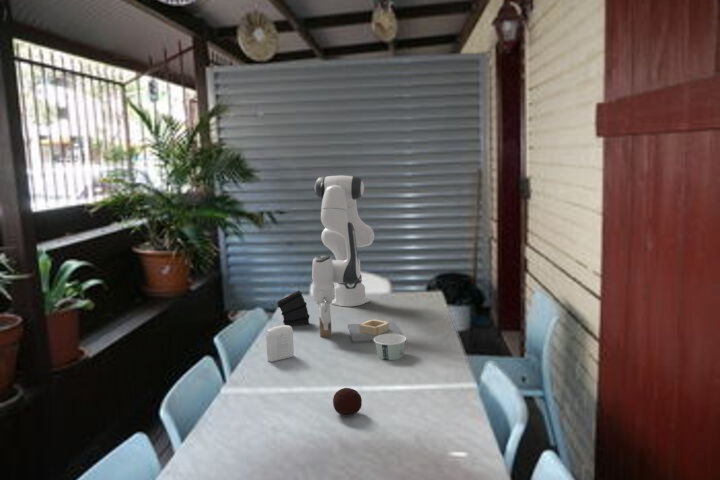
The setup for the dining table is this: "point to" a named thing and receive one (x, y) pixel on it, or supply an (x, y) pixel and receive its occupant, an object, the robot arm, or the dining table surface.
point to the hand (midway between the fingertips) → (325, 327)
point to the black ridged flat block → (294, 310)
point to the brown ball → (347, 401)
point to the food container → (390, 346)
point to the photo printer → (279, 343)
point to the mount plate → (368, 336)
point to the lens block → (325, 332)
